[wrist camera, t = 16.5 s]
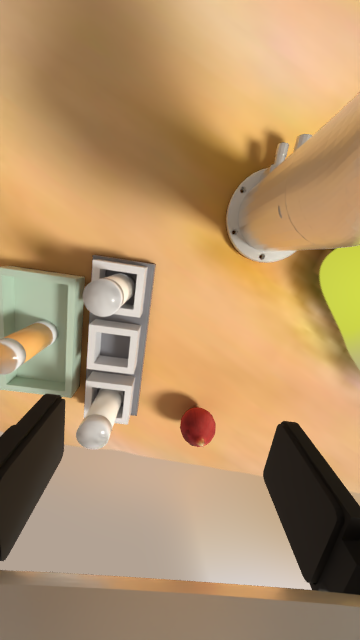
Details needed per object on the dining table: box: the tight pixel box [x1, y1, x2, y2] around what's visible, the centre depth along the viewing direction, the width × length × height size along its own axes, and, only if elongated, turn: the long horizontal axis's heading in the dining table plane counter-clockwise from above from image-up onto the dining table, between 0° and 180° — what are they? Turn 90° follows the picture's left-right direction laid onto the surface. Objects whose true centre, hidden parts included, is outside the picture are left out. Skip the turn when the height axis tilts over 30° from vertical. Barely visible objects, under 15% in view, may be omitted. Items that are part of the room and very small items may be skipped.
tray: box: [0, 266, 85, 398], centre depth 36 cm, size 19×11×4 cm, turn 171°
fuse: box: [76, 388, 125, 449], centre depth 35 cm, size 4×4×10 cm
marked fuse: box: [0, 320, 58, 375], centre depth 32 cm, size 4×4×10 cm
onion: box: [180, 407, 215, 447], centre depth 39 cm, size 6×6×8 cm
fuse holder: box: [84, 255, 156, 424], centre depth 37 cm, size 26×9×4 cm, turn 171°
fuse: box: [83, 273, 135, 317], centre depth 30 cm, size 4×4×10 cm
